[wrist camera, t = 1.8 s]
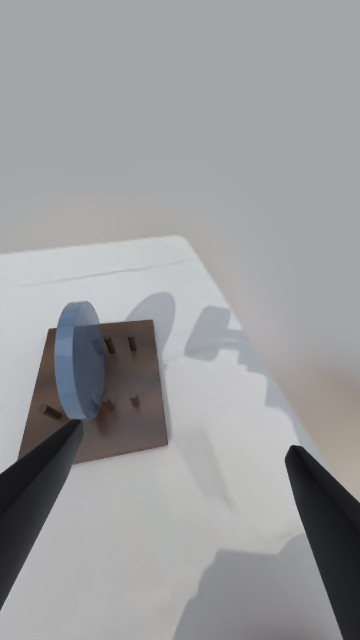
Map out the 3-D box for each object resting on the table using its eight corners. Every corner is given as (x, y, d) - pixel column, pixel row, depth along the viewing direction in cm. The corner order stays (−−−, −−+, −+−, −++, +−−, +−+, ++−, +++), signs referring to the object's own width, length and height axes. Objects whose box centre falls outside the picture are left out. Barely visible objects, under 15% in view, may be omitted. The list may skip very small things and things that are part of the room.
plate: (103, 429, 21) (62, 401, 12) (90, 431, 21) (40, 404, 12) (106, 338, 27) (81, 275, 18) (97, 339, 27) (67, 276, 18)
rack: (167, 445, 21) (169, 441, 18) (18, 475, 19) (-14, 476, 15) (152, 322, 30) (152, 303, 27) (51, 331, 28) (36, 312, 24)
